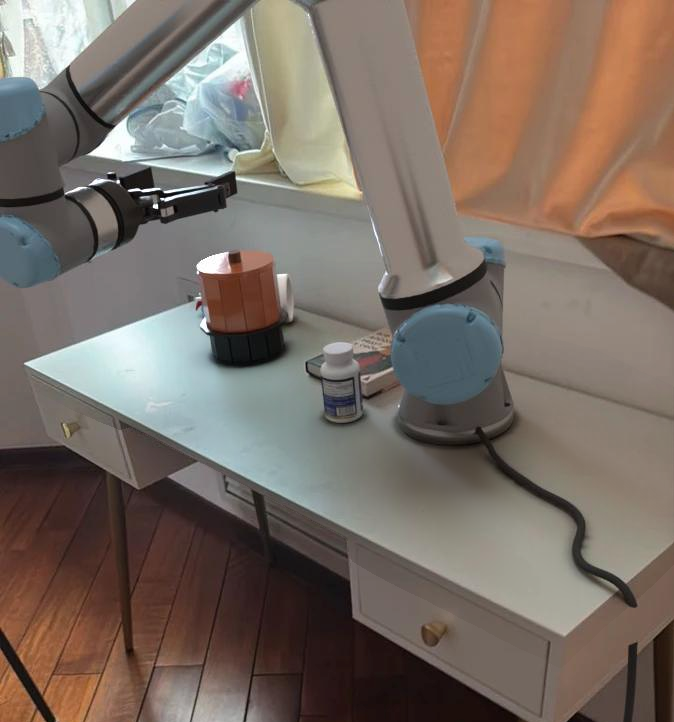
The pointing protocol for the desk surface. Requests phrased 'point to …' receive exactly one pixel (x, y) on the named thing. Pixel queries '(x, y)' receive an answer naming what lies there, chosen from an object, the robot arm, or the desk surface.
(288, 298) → the mug
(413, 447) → the desk surface
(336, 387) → the pill bottle
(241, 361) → the black flanged round holder
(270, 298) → the lidded pot
